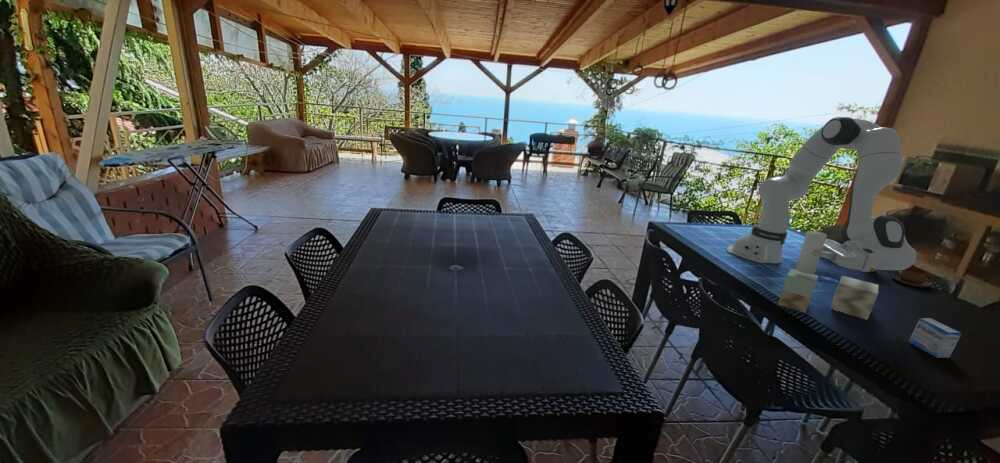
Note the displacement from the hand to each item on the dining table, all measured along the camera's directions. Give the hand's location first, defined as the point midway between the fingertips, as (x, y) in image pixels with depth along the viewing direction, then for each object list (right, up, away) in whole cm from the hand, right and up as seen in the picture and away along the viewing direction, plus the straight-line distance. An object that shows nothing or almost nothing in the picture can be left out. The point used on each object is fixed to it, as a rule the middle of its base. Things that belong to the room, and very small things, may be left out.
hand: (808, 249), depth 133 cm
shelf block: (+19, -22, +6) cm, 29 cm away
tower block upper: (0, -15, +5) cm, 16 cm away
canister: (+1, -8, +2) cm, 8 cm away
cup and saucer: (+67, -16, +30) cm, 75 cm away
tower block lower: (0, -20, +7) cm, 22 cm away
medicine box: (+23, -30, -16) cm, 41 cm away
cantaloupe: (+57, -6, +58) cm, 82 cm away
